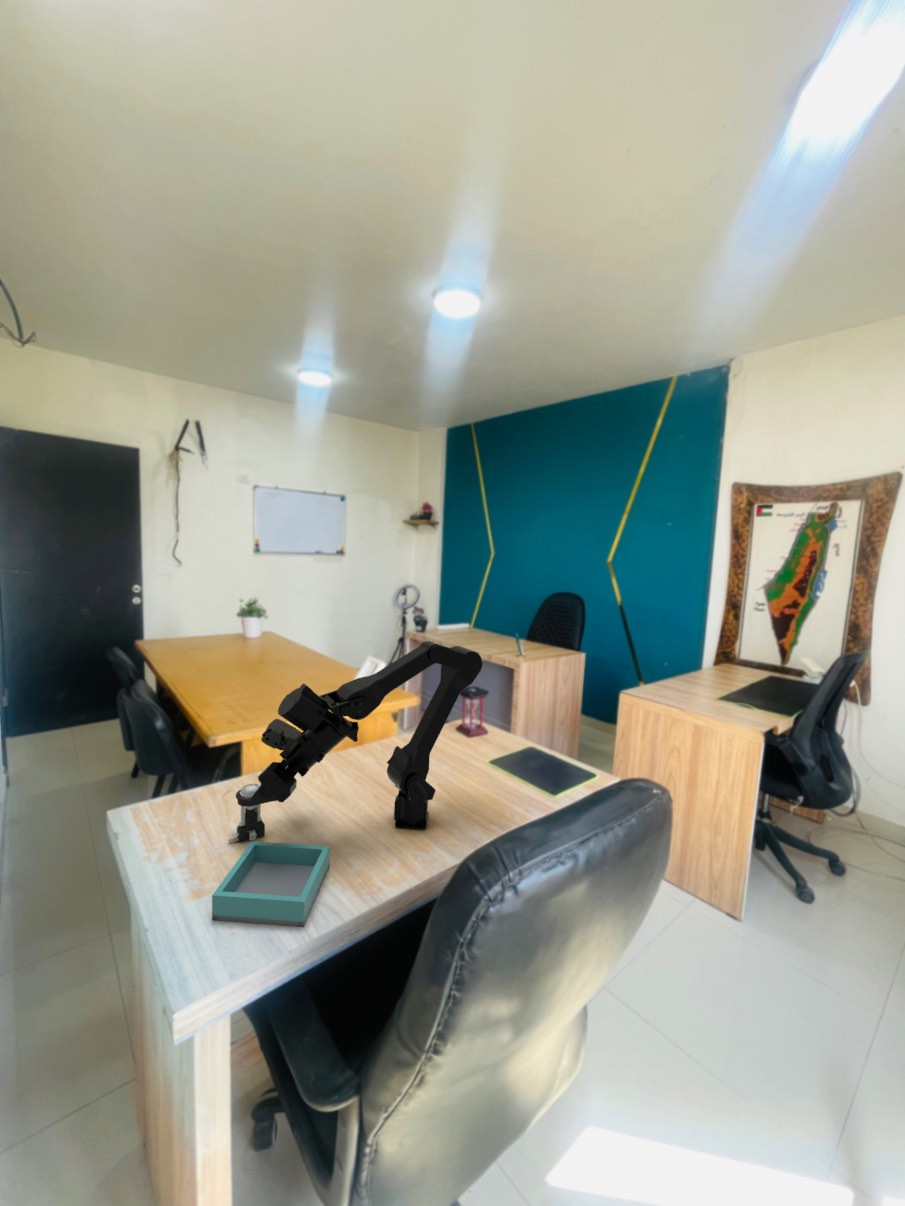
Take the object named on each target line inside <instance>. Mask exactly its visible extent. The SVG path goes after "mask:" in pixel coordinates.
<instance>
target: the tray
mask: <svg viewBox="0 0 905 1206" xmlns="http://www.w3.org/2000/svg"><path fill="white" fill-rule="evenodd" d="M330 848H331V846H328V845H313V844H300V843H299V844H298V843H297V844H296V843H285V842H271V841H270V842H269V841H257V840H255V841H254V840H251V842H250V843H249V844H248V846H247V847H246V849H245V850H244V852H243V853H242V854H241V855H240V857H239V858H238V860H236V862H235V864H234V865H233V867H232V868H231V869H230V871H229V872H228V873H227V874H226V876H225V877H224V878H223V880H222V882H221V883H220V884H219V885H218V887H217V888H216V889H215V891H214V892H213V894H212V896H211V920H212V921H222V922H234V923H235V922H237V923H250V924H262V925H263V924H264V925H277V926H278V925H279V926H289V927H291V926H292V927H305V925H306V922H307V920H308V918H309V915H310V914H311V913H310V912H311V911H312V909H313V906H314V904H315V902H316V899H317V898H318V897H317V896H318V894H319V892H320V889H321V887H322V886H323V883H324V881H325V878H326V875H327V874H328V872H329V869H330V853H331V851H330V850H331V849H330Z"/></svg>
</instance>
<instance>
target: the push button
mask: <svg viewBox="0 0 905 1206" xmlns="http://www.w3.org/2000/svg"><path fill="white" fill-rule="evenodd" d="M260 785H261V784H258V783H247V784H245V785H243V786H242V787H240V789H239V790H238V791H237V792H236V793H235V798H236V800H237V805H239V806H240V822H238V823H239V824H238V825H237V826H236V832H233V833H231V834H229V835H227V836H228V838H231V839H227V840H228V842H229V843H230V842H231V843H232V842H234V841H236V842H237V841H238V843H245V842H246V841H251V842H252V841H254V840H255V839H257V838H262V837H264V836H265V835H266V831H265V830H266V825H265V823H264V821H263V818H262V816H261V815H262V814H261V811H262V810H261V809H262V804H259V805H255V806H251V805H250V804H249V803H248V801H249V800H250V799H251V797H252V796H253V795H254V793H255V792H256V791H257V789H258V788H259V787H260Z"/></svg>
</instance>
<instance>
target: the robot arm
mask: <svg viewBox="0 0 905 1206" xmlns="http://www.w3.org/2000/svg"><path fill="white" fill-rule="evenodd" d="M483 663H484V662H483V660H482V656H481V655H480V653H478V652H476V651H475V650H472V649H468V648H465V647H463V646H462V645H461V646H460V645H455V646H451V647H448V646H445V645H442V644H439V643H435V642H433V641H431V640H425V641H423V642H422V643H420V645H418V646H417V647H415V648H414V649H412V650H411V651H409V652H407V653H406V654H404V655H403V656H401V657H400V658H397V660H395V661H393V662H392V663H390V664H388V665H387V666H385V667H383V668H382V669H380V670H379V671H377V672H375V673H372V674H370V675H367V676H361V677H358V678H355V679H353V680H350V681H347V682H346V683H343V684H342V685H341V686H340V687H338V689H335V690H333V691H329V692H327V693H324V694H320V695H318V694H317V693H316V692H314V691H313V690H312V688H311V687H310V686H308V685H307V684H306V683H302V684H301V685H300V686H299V687H297V688H295V689H293V690H292V691H291V692H289V693H287V694H286V695H285V696H284V698H283V699H282V701H281V702H280V703H279V706H278V709H277V714H278V715H279V716H280V717H281V718H283V719H284V720H286V721H287V722H289V723H290V724H289V723H287V722H285V721H283V720H282V719H280V718H274V719H273V720H272V721H271V722H270V723H269V724H268V725H267V727H266V729H265V731H264V732H263V733H262V734H261V738H260V741H261V742H262V743H263V744H264V745H266V746H268V747H270V748H272V749H274V750H275V749H276V750H279V751H281V752H280V753H279V754H278V755H279V756H280V757H281V758H282V759H281V761H280V762H278V761H272V762H271V763H270V764H269V765H267V766H266V768H265V769H264V770H262V772H261V773H260V774H259V775H257V780H258V782H259V783H260V784H259V785H260V787H259V788H258V789H257V791H256V792H255V793H254V795H253V796H252V797H251V799H250V800H249V801H248V803H249V804H250V805H251V806H255V805H259V804H261V805H263V804H266V803H267V804H268V803H271V802H279V803H284V802H285V801H286V800H288V798H290V797H291V795H292V794H293V792H294V791H295V790H296V788H297V783H298V782H297V781H298V780H297V779H296V776H297V774H299V775H300V777H302V778H303V777H305V776H306V775H307V773H308V772H309V771H310V769H311V768H312V767H314V766H315V765H316V764H317V763H318V764H320V763H321V762H322V761H323V759H324V758H325V757H326V755H327V754H328V753H330V752H331V751H332V750H334V748H336V747H337V746H338V745H339V744H340V743H341V742H342V741H344V739H346V738H347V737H348V739H350V740H351V741H353V742H355V743H356V742H358V740H359V739H358V733H359V728H360V727H359V722H358V721H361V720H363V719H366V718H367V717H368V716H369V715H371V714H372V713H373V712H374V711H375V710H376V709H377V708H378V707H380V705H381V703H382V702H383V701H384V699H385V697H386V696H387V695H389V694H390V693H391V692H393V691H395V690H396V689H397V688H398V687H401V686H402V685H404V684H405V683H406V682H408V681H410V680H411V679H413V678H414V677H416V676H418V675H419V674H421V673H423V671H425V670H427V669H428V668H430V667H431V666H433V665H435V664H438V665H440V681H439V684H438V685H437V687H436V689H435V692H434V693H433V695H432V697H431V699H430V701H429V703H428V705H427V707H426V710H425V711H424V713H423V715H422V717H421V719H420V721H419V723H418V725H417V727H416V729H415V730H414V733H413V734H412V737H411V738H410V740H409V742H408V743H407V744H405V745H404V746H403V747H400V746H398V745H397V746H395V748H394V749H393V752H392V755H391V756H390V759H389V760H387V762H386V764H388V765H387V767H386V768H387V769H386V773H387V778H388V779H389V780H390V781H391V783H393V784H394V786H395V788H397V789H398V792H397V795H396V796H395V799H394V810H393V811H394V812H393V819H394V820H395V823H394V827H395V828H398V829H399V828H400V829H414V830H426V829H427V826H428V820H429V819H428V818H429V801H433V799H434V796H435V793H436V788H434V787H433V786H432V785H431V784H430V783H428V782H427V780H426V779H427V777H428V774H429V771H430V757H431V756H430V755H431V752H432V750H433V748H434V746H435V744H436V743H437V740H438V739H439V737H440V734H441V732H442V730H443V729H444V726H445V724H446V722H447V721H448V718H449V716H450V714H451V712H452V710H453V708H454V706H455V704H456V703H457V700H458V698H459V696H460V694H461V693H462V691H464V690H465V689H467V688H468V687H469V686H471V685H472V684H473V683H474V681H475V680H476V679H477V677H478V675H480V674H481V673H480V672H481V671H482V668H483V666H484V665H483ZM346 717H348V718H349V719H351V720H357V721H351V720H349V719H347V718H346ZM291 724H292V725H291ZM297 728H298V729H297Z"/></svg>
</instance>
